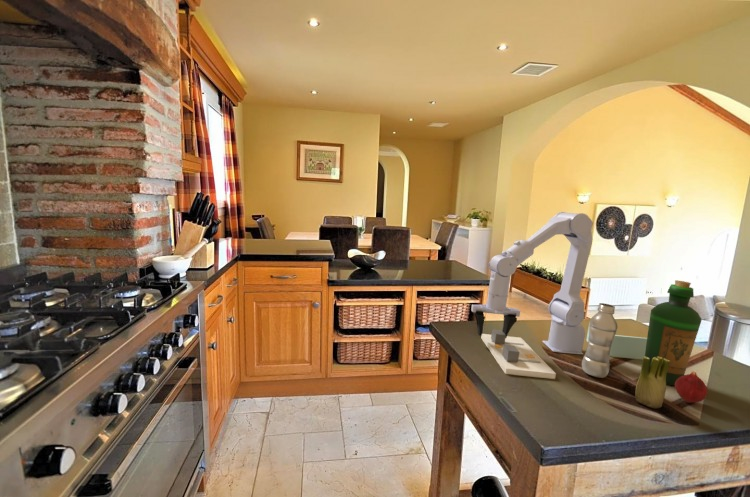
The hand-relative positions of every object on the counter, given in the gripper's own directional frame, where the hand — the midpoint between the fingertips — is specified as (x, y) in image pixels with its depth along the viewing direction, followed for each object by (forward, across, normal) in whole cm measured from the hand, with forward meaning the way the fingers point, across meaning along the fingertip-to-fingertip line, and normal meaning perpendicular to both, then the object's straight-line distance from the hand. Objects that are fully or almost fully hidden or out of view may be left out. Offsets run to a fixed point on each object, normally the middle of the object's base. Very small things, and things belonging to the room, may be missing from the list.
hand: (491, 335), depth 107 cm
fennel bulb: (+4, +30, -26) cm, 40 cm away
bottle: (+4, +45, -11) cm, 46 cm away
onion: (+4, +42, -23) cm, 48 cm away
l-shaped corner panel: (+4, +44, +8) cm, 45 cm away
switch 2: (+2, +2, -12) cm, 12 cm away
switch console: (+3, +5, -6) cm, 9 cm away
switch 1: (+2, +2, 0) cm, 3 cm away
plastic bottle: (+4, +25, -13) cm, 28 cm away
